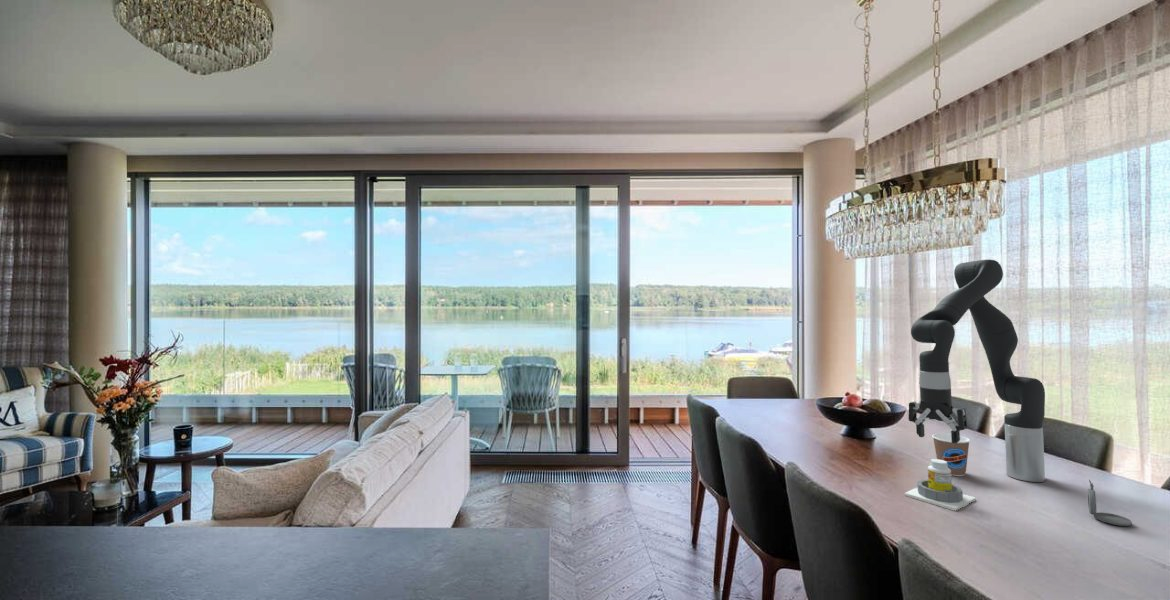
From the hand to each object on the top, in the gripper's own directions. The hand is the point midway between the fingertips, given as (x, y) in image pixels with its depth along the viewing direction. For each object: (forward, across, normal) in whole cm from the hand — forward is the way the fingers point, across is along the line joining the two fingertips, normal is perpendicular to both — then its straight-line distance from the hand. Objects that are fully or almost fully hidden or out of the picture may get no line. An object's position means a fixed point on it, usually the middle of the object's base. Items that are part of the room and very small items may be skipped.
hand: (937, 439), depth 138 cm
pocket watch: (+18, -30, -19) cm, 40 cm away
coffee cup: (+18, +7, -27) cm, 33 cm away
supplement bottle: (+17, 0, 0) cm, 17 cm away
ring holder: (+17, 0, 0) cm, 17 cm away
